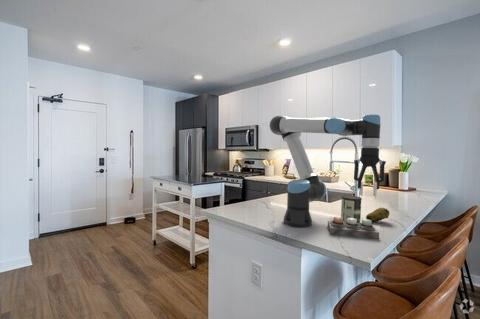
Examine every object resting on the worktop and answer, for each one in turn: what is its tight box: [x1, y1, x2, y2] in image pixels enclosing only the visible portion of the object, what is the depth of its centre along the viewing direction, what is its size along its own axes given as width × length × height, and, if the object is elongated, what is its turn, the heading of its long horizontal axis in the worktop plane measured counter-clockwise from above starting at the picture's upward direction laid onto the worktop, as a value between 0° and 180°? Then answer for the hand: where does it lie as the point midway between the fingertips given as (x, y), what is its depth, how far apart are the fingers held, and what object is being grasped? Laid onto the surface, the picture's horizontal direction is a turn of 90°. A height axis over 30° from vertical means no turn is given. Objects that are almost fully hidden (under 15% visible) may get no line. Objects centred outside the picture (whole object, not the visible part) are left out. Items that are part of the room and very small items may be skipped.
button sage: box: [361, 218, 372, 226], centre depth 116 cm, size 4×4×2 cm
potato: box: [365, 207, 390, 223], centre depth 136 cm, size 8×13×8 cm, turn 81°
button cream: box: [347, 218, 357, 224], centre depth 117 cm, size 4×4×2 cm
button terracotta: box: [332, 216, 343, 223], centre depth 119 cm, size 4×4×2 cm
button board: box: [327, 219, 380, 240], centre depth 118 cm, size 21×12×4 cm, turn 76°
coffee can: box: [340, 194, 363, 223], centre depth 135 cm, size 10×10×14 cm
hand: (367, 195), depth 115 cm, fingers open, 5 cm apart
